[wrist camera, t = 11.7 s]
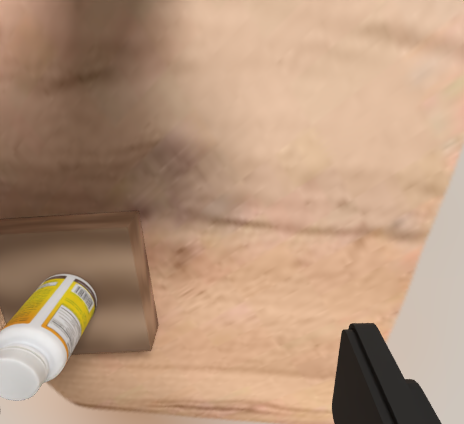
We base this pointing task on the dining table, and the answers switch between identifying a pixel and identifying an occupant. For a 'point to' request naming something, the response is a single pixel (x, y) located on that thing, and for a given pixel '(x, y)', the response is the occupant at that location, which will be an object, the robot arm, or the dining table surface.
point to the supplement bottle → (44, 334)
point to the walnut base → (84, 273)
